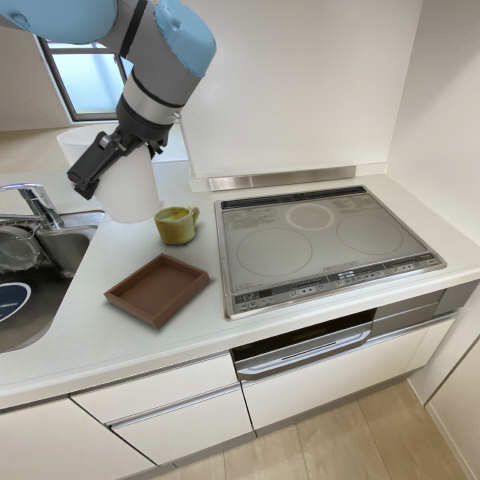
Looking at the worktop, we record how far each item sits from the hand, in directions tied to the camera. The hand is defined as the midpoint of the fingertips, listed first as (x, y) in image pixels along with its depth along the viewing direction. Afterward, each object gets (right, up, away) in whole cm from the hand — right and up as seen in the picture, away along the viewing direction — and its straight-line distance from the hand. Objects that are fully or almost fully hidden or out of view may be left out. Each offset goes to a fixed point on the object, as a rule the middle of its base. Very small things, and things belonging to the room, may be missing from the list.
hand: (113, 179), depth 53 cm
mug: (+3, -11, +23) cm, 25 cm away
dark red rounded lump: (-45, +9, +43) cm, 63 cm away
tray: (+6, -24, +6) cm, 26 cm away
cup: (+2, -7, +5) cm, 8 cm away
